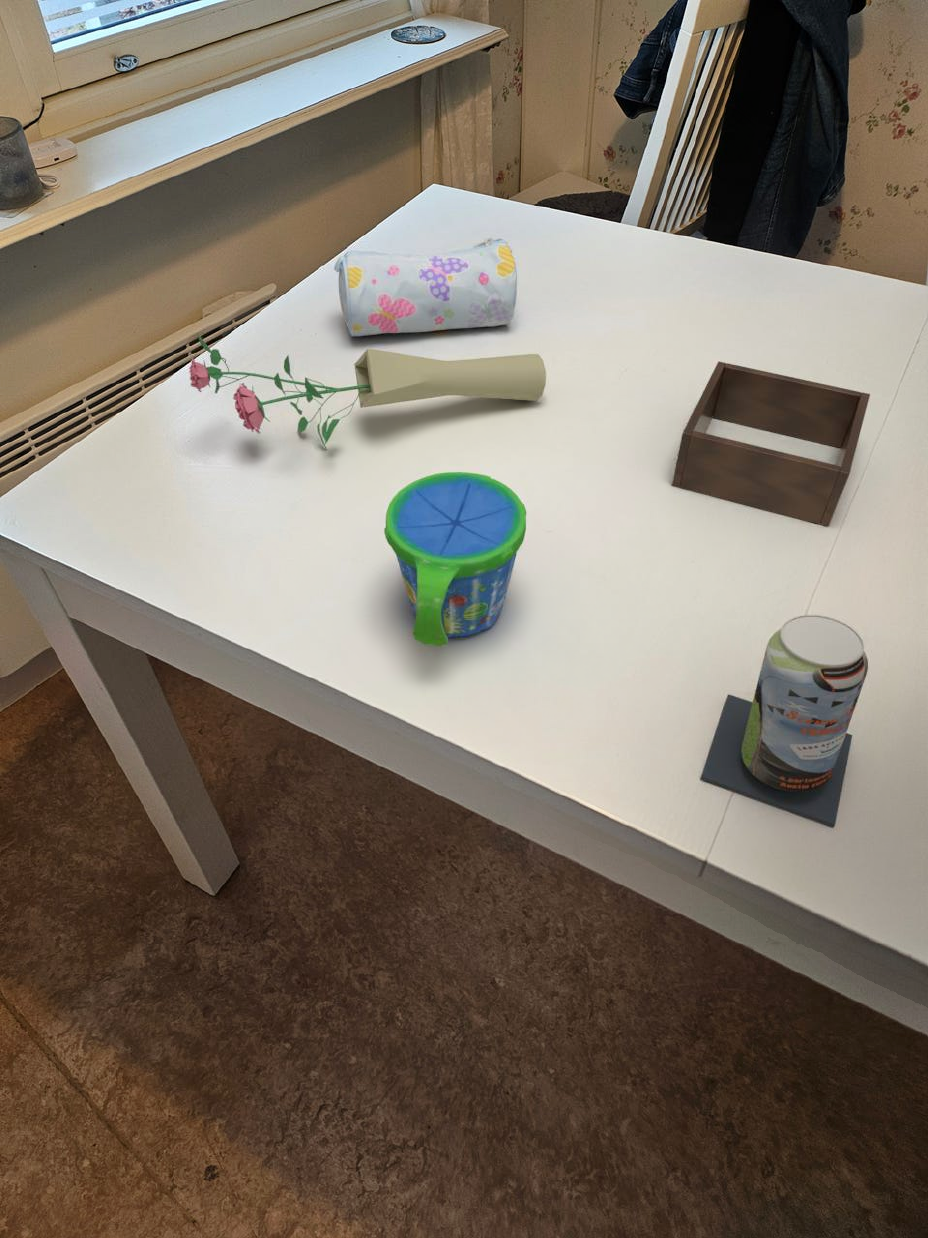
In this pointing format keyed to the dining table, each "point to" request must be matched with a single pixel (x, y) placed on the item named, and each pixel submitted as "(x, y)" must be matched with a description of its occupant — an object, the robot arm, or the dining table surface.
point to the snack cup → (455, 550)
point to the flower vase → (392, 382)
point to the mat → (735, 776)
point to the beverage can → (804, 702)
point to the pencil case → (428, 289)
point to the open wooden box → (764, 471)
